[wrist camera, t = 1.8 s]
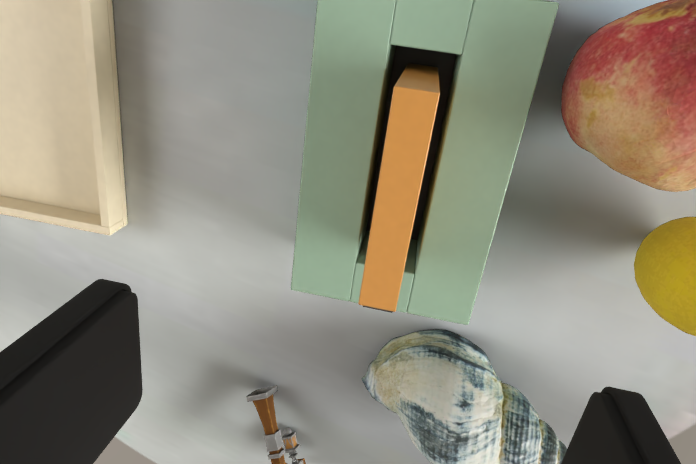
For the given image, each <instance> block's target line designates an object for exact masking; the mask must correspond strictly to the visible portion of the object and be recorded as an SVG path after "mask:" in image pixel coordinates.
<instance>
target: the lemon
mask: <svg viewBox="0 0 696 464" xmlns="http://www.w3.org/2000/svg"><path fill="white" fill-rule="evenodd" d="M634 270H635V279H636V282H637V285H638V287H639V289H640V291H641V294H642V296H643V297H644V299H645V300H646V302H647V303H648V304H649V305H650V306H651V307H652V308H653V309H654V311H655V312H656V313H657V314H658V315H659V316H660V317H662V318H663V319H664V320H666V321H667V322H669V323H670V324H672V325H673V326H675V327H677V328H678V329H680V330H682V331H683V332H685V333H688V334H691V335H694V336H696V217H684V218H680V219H675V220H671V221H669V222H667V223H665V224H662V225H660V226H659V227H657V228H656V229H654V230H653V231H652V232H650V233H649V234H648V236H647V237H646V238H645V239H644V240H643V241H642V243H641V245H640V247H639V249H638V251H637V253H636V257H635V262H634Z"/></svg>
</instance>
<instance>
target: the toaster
mask: <svg viewBox="0 0 696 464" xmlns="http://www.w3.org/2000/svg"><path fill="white" fill-rule="evenodd" d="M558 7H559V3H557V2H550V1H543V0H318V1H317V11H316V22H315V33H314V44H313V55H312V65H311V76H310V87H309V98H308V109H307V119H306V130H305V141H304V152H303V163H302V174H301V184H300V195H299V206H298V217H297V228H296V238H295V249H294V260H293V271H292V282H291V290H295V291H300V292H305V293H310V294H315V295H320V296H325V297H329V298H334V299H339V300H344V301H351V302H355V303H358V302H359V296H360V290H361V284H362V278H363V272H364V266H365V260H366V253H367V247H368V241H369V235H370V229H371V223H372V217H373V211H374V205H375V198H376V192H377V186H378V180H379V174H380V168H381V162H382V156H383V149H384V143H385V137H386V131H387V125H388V119H389V113H390V107H391V101H392V94H393V88H394V86H395V84H396V83H397V81H398V79H399V78H400V76H401V75H402V73H403V71H404V70H405V68H406V66H407V65H408V63H411V64H418V65H425V66H431V67H437V68H438V75H439V89H440V96H439V101H438V106H437V111H436V116H435V121H434V126H433V131H432V136H431V141H430V145H429V150H428V155H427V160H426V165H425V170H424V175H423V180H422V185H421V190H420V194H419V199H418V204H417V209H416V214H415V219H414V224H413V229H412V234H411V239H410V244H409V248H408V253H407V258H406V263H405V268H404V273H403V278H402V283H401V288H400V293H399V298H398V302H397V307H396V311H400V312H407V313H410V314H415V315H420V316H425V317H430V318H434V319H439V320H444V321H449V322H454V323H459V324H464V325H468V324H469V321H470V317H471V314H472V310H473V307H474V303H475V299H476V296H477V292H478V289H479V285H480V282H481V278H482V275H483V271H484V268H485V264H486V261H487V257H488V254H489V250H490V247H491V243H492V239H493V236H494V232H495V229H496V225H497V222H498V218H499V215H500V211H501V208H502V204H503V201H504V197H505V194H506V190H507V187H508V183H509V179H510V176H511V172H512V169H513V165H514V162H515V158H516V155H517V151H518V148H519V144H520V141H521V137H522V134H523V130H524V127H525V123H526V119H527V116H528V112H529V109H530V105H531V102H532V98H533V95H534V91H535V88H536V84H537V81H538V77H539V74H540V70H541V67H542V63H543V60H544V56H545V52H546V49H547V45H548V42H549V38H550V35H551V31H552V28H553V24H554V21H555V17H556V14H557V10H558ZM363 307H367V308H372V309H377V310H382V311H387V312H393V311H388V310H384V309H379V308H374V307H369V306H364V305H363Z"/></svg>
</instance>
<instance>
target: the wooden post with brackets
mask: <svg viewBox="0 0 696 464" xmlns="http://www.w3.org/2000/svg"><path fill="white" fill-rule="evenodd" d="M276 391H278V390H277V386H272V387H267V388H262V389H257V390H255V391H254V392H252V393H251V394H249V395H248V396H246V397H245V398H247V402H249V401H253V403H254V405H255V407H256V409H257V411H258V414H259V416H260V419H261V422H262V424H263V427H264V431H265V435H264V439H265V442H266V447H267V452H269V453H270V454H269V455H268V459H271V462H272V464H287V463H285V460H284V453H290V454H289V455H290V456H289V458H292V459H293V460H294V461H295V460H296V461H295V462H293V460H292V464H306V463H305V459H304V458H303V459H296V455H297V454H298V453H295V452H296V451H295V450H296V449H297V448H298V447H299V446H300V444H297V441H296V432H292V431H291V429H290V428H285V429H284V436H283V437H281V432H280V429H278V427H277V423H276V417H275V409H274V402H273V393H275V392H276ZM283 445H284V446H285V448H283V449H282V446H283Z"/></svg>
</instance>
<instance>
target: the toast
mask: <svg viewBox="0 0 696 464" xmlns="http://www.w3.org/2000/svg"><path fill="white" fill-rule="evenodd" d="M439 96H440V89H439V75H438V68H437V67H431V66H425V65H418V64H411V63H408V65H407V66H406V68H405V70H404V71H403V73H402V75H401V76H400V78H399V79H398V81H397V83H396V84H395V86H394V88H393V94H392V101H391V107H390V113H389V119H388V125H387V131H386V137H385V143H384V149H383V156H382V162H381V168H380V174H379V180H378V186H377V192H376V198H375V205H374V211H373V217H372V223H371V229H370V235H369V241H368V247H367V253H366V260H365V266H364V272H363V278H362V284H361V290H360V296H359V302H358V303H359V305H364V306H369V307H374V308H379V309H384V310H388V311H393V312H395V311H396V307H397V302H398V298H399V293H400V288H401V283H402V278H403V273H404V268H405V263H406V258H407V253H408V248H409V244H410V239H411V234H412V229H413V224H414V219H415V214H416V209H417V204H418V199H419V194H420V190H421V185H422V180H423V175H424V170H425V165H426V160H427V155H428V150H429V145H430V141H431V136H432V131H433V126H434V121H435V116H436V111H437V106H438V101H439Z"/></svg>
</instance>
